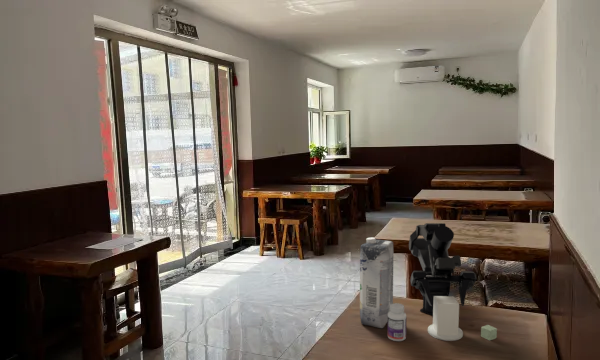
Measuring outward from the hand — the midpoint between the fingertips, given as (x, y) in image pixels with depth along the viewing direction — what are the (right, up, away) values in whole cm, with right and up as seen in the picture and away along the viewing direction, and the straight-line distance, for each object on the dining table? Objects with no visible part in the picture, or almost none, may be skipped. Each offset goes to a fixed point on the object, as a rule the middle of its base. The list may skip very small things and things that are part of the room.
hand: (447, 305), depth 134 cm
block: (+12, -9, 0) cm, 15 cm away
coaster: (0, -9, +2) cm, 9 cm away
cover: (0, -8, +2) cm, 8 cm away
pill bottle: (-15, -10, 0) cm, 18 cm away
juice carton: (-19, -8, +11) cm, 23 cm away
